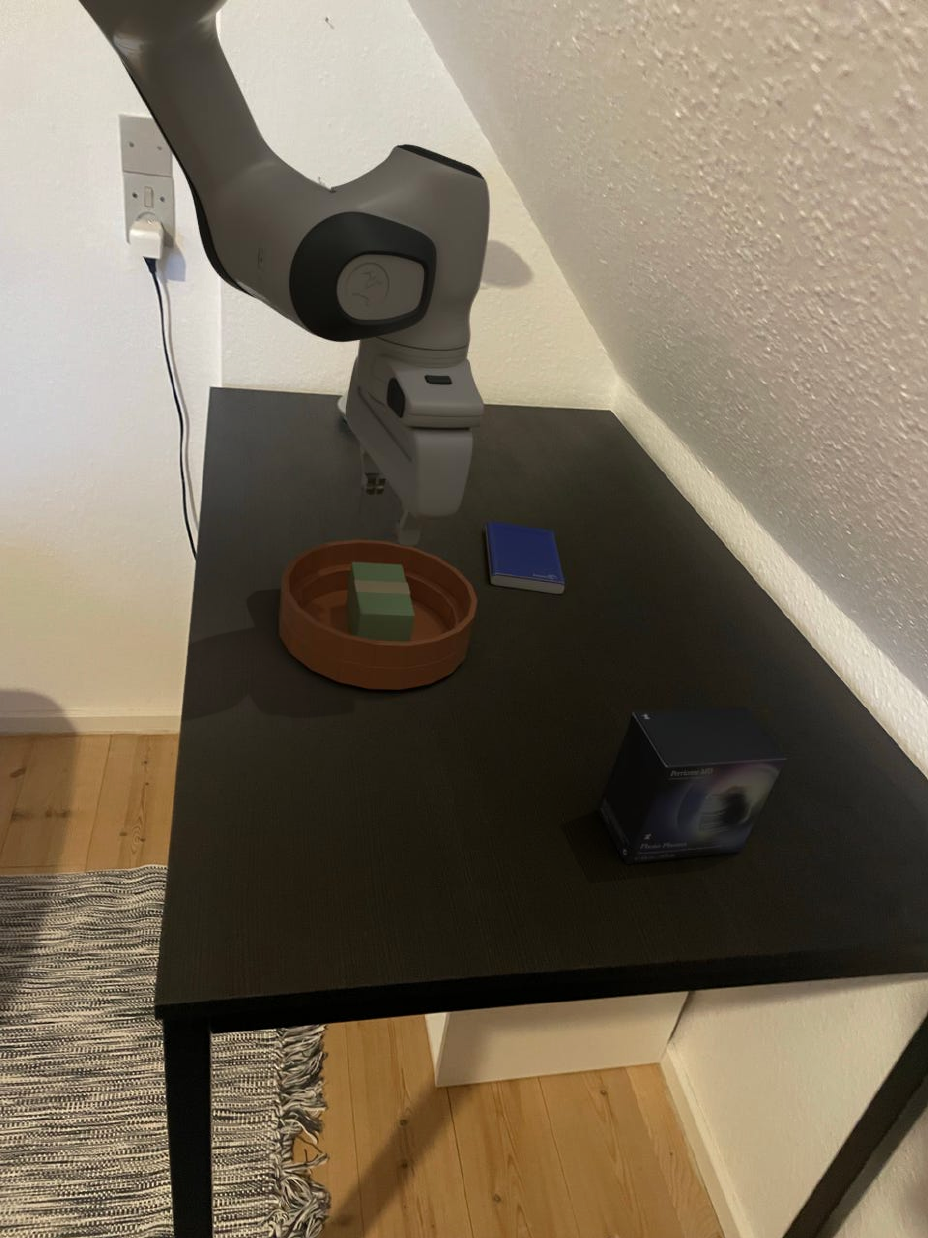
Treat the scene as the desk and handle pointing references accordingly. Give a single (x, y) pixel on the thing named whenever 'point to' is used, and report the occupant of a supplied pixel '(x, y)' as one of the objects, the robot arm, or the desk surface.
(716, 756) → the small box
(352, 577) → the package
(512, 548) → the hard drive
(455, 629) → the bowl
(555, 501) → the desk surface
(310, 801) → the desk surface
